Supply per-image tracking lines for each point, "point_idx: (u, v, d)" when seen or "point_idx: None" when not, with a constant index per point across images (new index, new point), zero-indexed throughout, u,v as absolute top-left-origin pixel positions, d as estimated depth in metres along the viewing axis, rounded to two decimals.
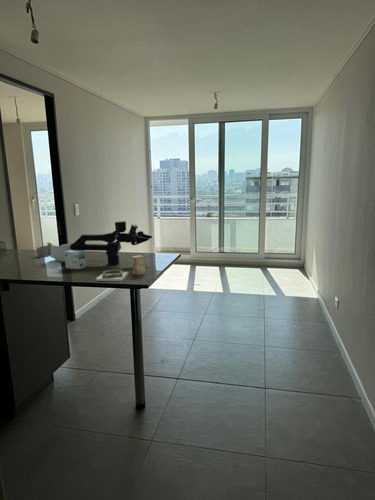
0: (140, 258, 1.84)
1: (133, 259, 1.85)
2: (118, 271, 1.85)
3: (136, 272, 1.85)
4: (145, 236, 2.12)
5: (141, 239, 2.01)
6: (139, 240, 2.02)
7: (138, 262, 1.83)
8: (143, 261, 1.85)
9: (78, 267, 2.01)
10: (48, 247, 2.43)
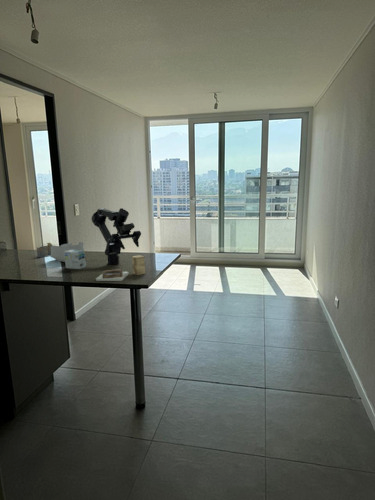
0: (140, 258, 1.84)
1: (133, 259, 1.85)
2: (118, 271, 1.85)
3: (136, 272, 1.85)
4: (135, 240, 1.95)
5: (119, 243, 1.89)
6: (118, 242, 1.90)
7: (138, 262, 1.83)
8: (143, 261, 1.85)
9: (78, 267, 2.01)
10: (48, 247, 2.43)
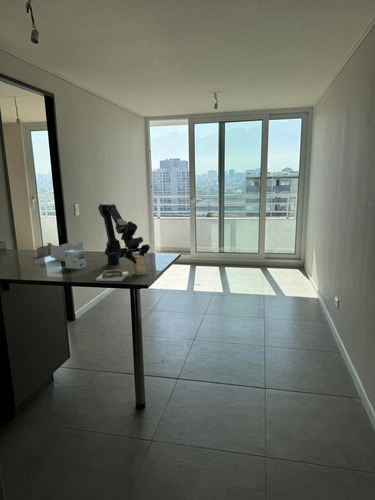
0: (140, 258, 1.84)
1: None
2: (118, 271, 1.85)
3: (136, 272, 1.84)
4: (141, 255, 1.88)
5: (130, 257, 1.84)
6: (129, 256, 1.85)
7: (138, 262, 1.83)
8: (143, 261, 1.85)
9: (78, 267, 2.01)
10: (48, 247, 2.43)
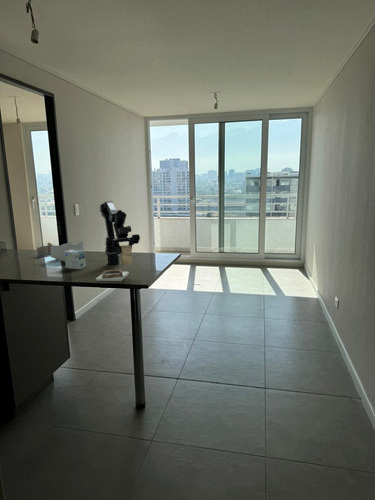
0: (126, 248, 1.78)
1: None
2: (118, 271, 1.85)
3: (122, 262, 1.80)
4: None
5: (117, 247, 1.80)
6: (116, 246, 1.81)
7: (124, 252, 1.78)
8: (130, 251, 1.79)
9: (78, 267, 2.01)
10: (48, 247, 2.43)
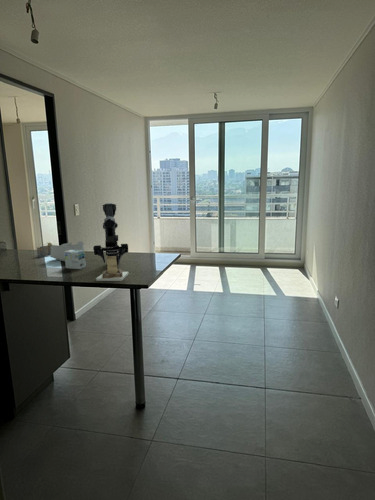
0: (111, 259, 1.77)
1: None
2: (118, 271, 1.85)
3: None
4: None
5: (102, 256, 1.79)
6: None
7: (109, 263, 1.77)
8: (115, 262, 1.78)
9: (78, 267, 2.01)
10: (48, 247, 2.44)
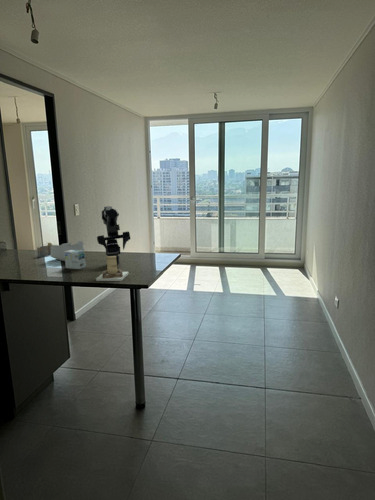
0: (111, 259, 1.77)
1: None
2: (118, 271, 1.85)
3: None
4: None
5: (104, 245, 1.89)
6: None
7: (109, 263, 1.77)
8: (115, 262, 1.78)
9: (78, 267, 2.01)
10: (48, 247, 2.44)
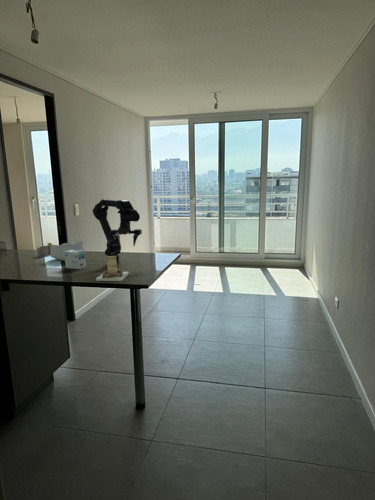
0: (111, 259, 1.77)
1: None
2: (118, 271, 1.85)
3: None
4: None
5: None
6: None
7: (109, 263, 1.77)
8: (115, 262, 1.78)
9: (78, 267, 2.01)
10: (48, 247, 2.44)
